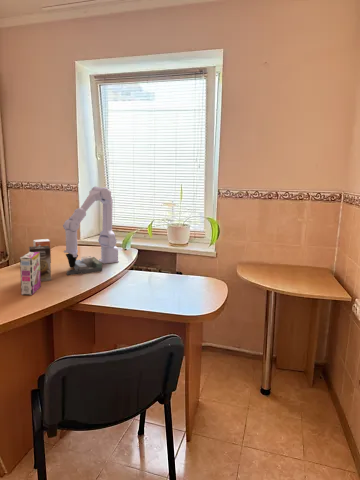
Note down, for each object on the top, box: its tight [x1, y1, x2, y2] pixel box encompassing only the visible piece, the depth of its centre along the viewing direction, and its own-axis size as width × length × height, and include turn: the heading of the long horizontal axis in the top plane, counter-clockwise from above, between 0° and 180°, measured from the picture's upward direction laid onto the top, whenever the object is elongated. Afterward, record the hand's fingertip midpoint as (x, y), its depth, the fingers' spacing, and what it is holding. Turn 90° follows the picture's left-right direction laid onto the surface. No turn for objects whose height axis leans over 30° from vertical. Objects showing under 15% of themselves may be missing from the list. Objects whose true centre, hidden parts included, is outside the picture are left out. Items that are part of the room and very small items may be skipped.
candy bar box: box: [19, 251, 42, 296], centre depth 144 cm, size 11×5×16 cm, turn 5°
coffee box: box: [28, 246, 52, 282], centre depth 159 cm, size 9×6×16 cm
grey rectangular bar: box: [73, 259, 87, 270], centre depth 178 cm, size 4×14×4 cm, turn 32°
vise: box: [66, 256, 103, 276], centre depth 178 cm, size 18×14×4 cm
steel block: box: [80, 255, 93, 268], centre depth 182 cm, size 5×4×6 cm
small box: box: [32, 238, 52, 263], centre depth 187 cm, size 8×6×13 cm
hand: (72, 267), depth 178 cm, fingers closed, pressing on grey rectangular bar
